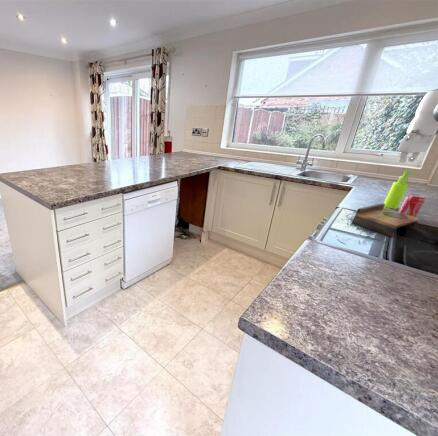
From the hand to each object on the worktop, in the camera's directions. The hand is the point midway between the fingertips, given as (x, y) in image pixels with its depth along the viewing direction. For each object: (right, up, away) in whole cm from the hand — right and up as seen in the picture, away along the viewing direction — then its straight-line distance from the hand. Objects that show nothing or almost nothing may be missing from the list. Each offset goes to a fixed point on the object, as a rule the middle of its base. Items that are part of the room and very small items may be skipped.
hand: (406, 161), depth 113 cm
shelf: (-14, -29, -3) cm, 33 cm away
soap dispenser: (+14, -20, +21) cm, 33 cm away
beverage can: (+6, -26, +6) cm, 28 cm away
